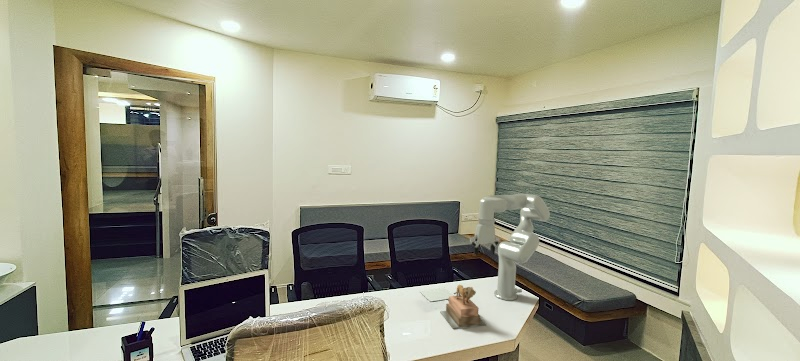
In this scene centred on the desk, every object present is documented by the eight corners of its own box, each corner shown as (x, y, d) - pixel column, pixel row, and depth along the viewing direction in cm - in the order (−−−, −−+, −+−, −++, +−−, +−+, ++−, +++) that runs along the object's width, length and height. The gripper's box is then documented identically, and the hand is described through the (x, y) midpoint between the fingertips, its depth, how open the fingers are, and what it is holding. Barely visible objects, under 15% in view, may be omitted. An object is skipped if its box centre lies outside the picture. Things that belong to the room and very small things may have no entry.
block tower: (470, 309, 169) (471, 293, 168) (486, 325, 154) (487, 308, 153) (440, 312, 165) (440, 296, 164) (453, 329, 149) (453, 311, 149)
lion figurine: (476, 306, 155) (477, 287, 154) (467, 308, 152) (468, 289, 151) (457, 293, 168) (458, 276, 167) (449, 295, 165) (450, 278, 164)
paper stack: (466, 306, 174) (466, 304, 173) (424, 313, 164) (424, 311, 164) (444, 288, 195) (444, 287, 195) (406, 294, 186) (406, 293, 186)
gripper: (496, 220, 177) (494, 251, 178) (467, 220, 172) (466, 252, 174) (504, 223, 169) (502, 255, 171) (474, 224, 165) (472, 256, 166)
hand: (484, 253), depth 172 cm, fingers open, 9 cm apart
